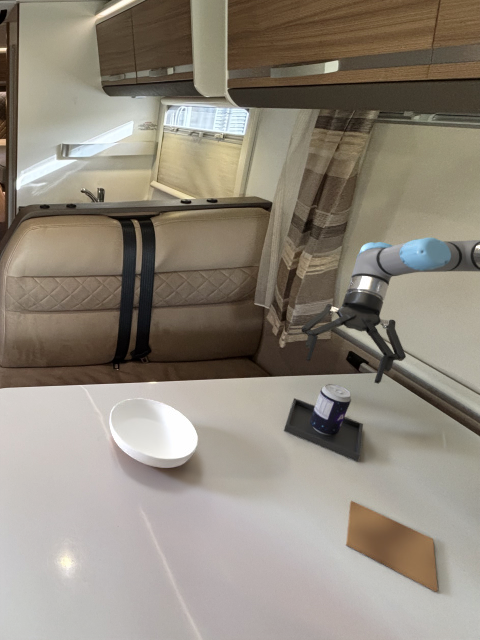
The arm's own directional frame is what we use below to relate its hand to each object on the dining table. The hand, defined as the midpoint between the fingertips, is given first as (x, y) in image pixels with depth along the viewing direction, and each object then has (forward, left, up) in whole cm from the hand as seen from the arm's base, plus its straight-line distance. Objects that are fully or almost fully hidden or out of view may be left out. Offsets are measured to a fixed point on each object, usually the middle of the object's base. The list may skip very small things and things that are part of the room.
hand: (341, 370), depth 108 cm
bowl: (+30, +42, -14) cm, 54 cm away
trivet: (-13, +35, -14) cm, 40 cm away
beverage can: (0, +8, -13) cm, 16 cm away
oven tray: (0, +8, -14) cm, 16 cm away
